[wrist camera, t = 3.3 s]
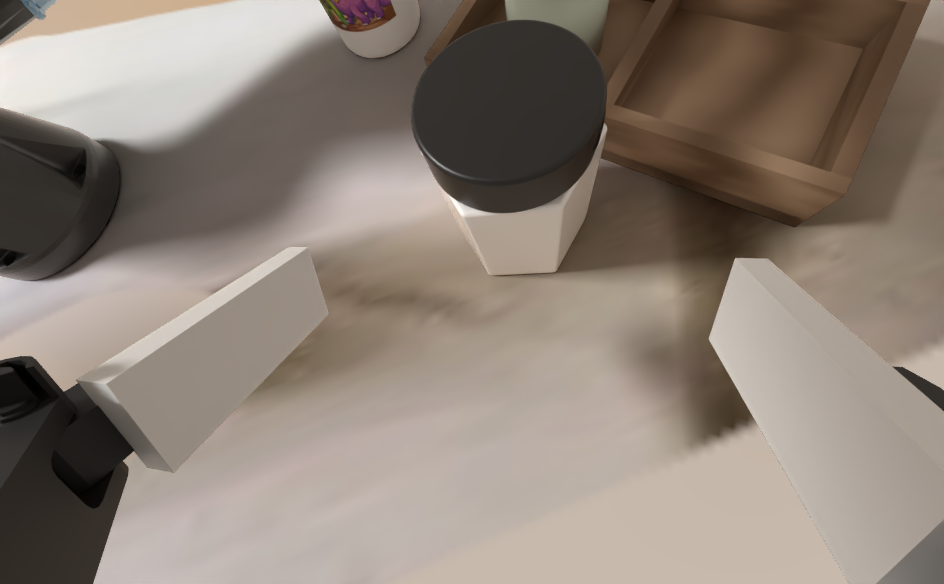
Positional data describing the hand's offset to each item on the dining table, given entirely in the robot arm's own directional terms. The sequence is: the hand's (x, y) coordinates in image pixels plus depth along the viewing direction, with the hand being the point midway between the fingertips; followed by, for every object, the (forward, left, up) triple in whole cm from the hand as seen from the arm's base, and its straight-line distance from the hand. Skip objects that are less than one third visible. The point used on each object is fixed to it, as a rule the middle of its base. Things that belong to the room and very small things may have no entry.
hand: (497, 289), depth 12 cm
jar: (-4, +7, -13) cm, 16 cm away
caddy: (-2, +21, -13) cm, 25 cm away
